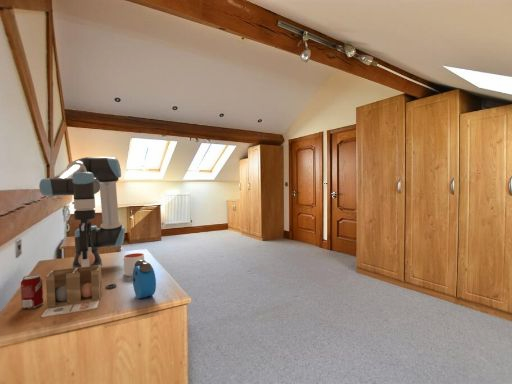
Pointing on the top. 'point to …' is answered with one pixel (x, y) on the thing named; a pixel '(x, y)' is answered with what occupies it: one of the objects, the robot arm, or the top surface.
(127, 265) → the cup
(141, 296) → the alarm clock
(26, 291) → the soda can
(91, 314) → the top surface
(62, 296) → the ball grey
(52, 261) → the top surface
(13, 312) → the top surface
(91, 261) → the terra ball
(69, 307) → the card
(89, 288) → the terracotta ball
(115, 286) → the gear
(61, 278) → the box
